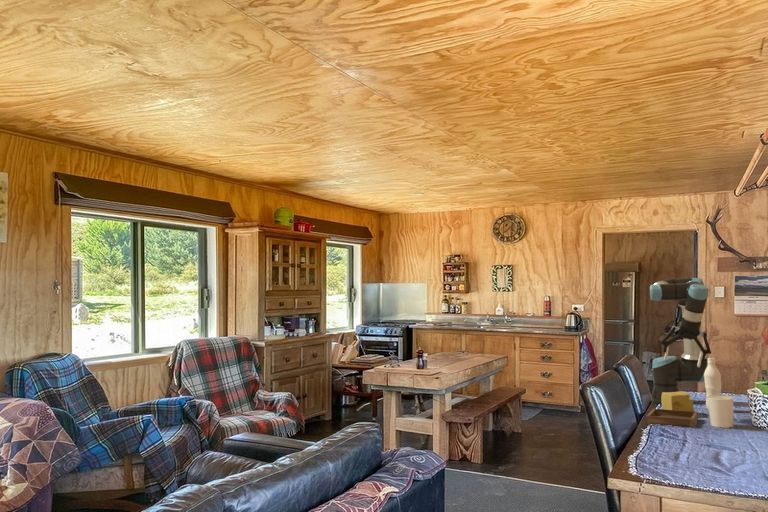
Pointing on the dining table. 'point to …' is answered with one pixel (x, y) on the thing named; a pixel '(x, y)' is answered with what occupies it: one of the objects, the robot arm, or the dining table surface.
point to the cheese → (677, 401)
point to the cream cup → (721, 411)
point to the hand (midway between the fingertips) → (681, 362)
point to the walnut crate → (672, 417)
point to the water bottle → (712, 380)
